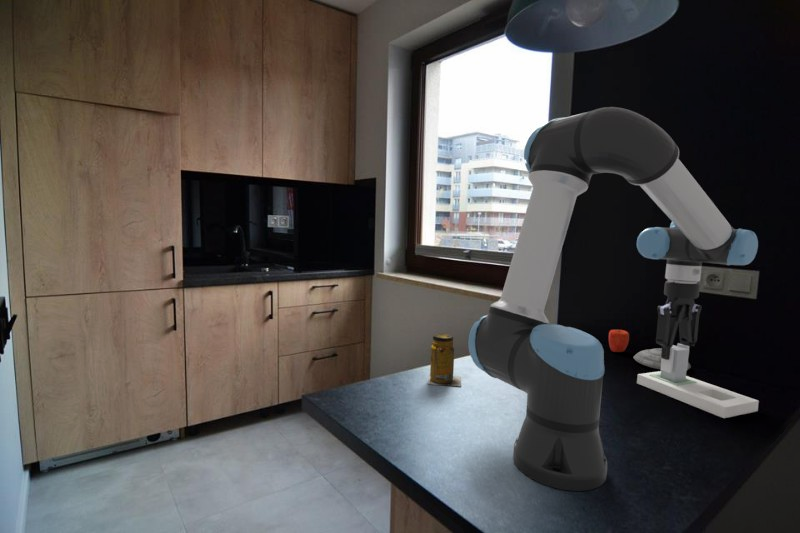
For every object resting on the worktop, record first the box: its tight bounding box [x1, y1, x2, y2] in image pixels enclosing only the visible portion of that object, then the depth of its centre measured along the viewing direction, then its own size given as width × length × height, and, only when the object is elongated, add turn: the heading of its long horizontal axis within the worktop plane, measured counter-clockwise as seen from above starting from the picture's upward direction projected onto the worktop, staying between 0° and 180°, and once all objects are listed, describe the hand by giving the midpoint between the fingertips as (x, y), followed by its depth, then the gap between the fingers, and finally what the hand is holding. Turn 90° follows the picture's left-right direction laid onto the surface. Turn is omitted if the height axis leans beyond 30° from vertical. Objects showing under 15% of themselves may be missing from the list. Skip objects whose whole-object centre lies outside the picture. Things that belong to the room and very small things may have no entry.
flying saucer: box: [633, 347, 692, 371], centre depth 132 cm, size 15×15×6 cm
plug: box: [660, 344, 690, 383], centre depth 113 cm, size 4×5×11 cm
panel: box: [636, 370, 760, 419], centre depth 108 cm, size 12×22×3 cm, turn 22°
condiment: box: [427, 333, 462, 387], centre depth 113 cm, size 7×8×12 cm
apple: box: [608, 329, 630, 353], centre depth 146 cm, size 6×6×8 cm
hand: (673, 369), depth 113 cm, fingers open, 5 cm apart
